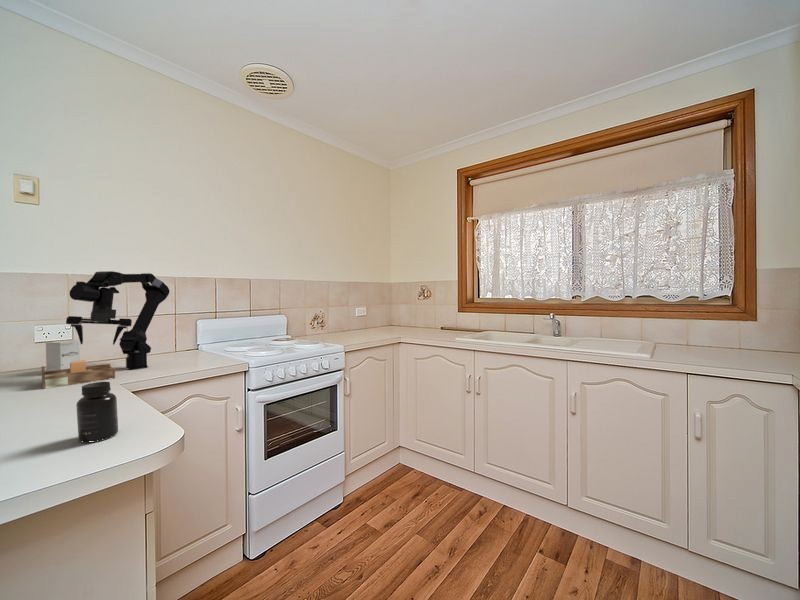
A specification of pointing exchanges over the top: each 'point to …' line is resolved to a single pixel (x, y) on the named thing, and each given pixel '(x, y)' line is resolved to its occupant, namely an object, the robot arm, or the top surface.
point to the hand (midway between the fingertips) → (97, 344)
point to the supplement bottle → (97, 412)
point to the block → (77, 366)
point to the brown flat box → (76, 376)
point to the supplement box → (61, 354)
